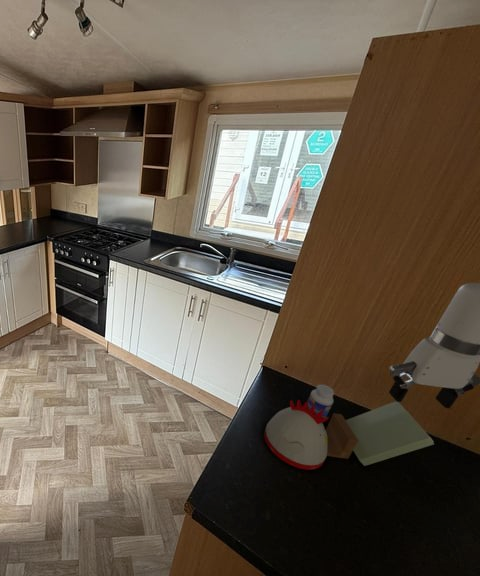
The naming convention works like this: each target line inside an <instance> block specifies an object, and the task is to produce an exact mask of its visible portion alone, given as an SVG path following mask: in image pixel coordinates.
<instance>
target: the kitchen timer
mask: <svg viewBox="0 0 480 576" xmlns="http://www.w3.org/2000/svg"><path fill="white" fill-rule="evenodd" d="M322 413H323V409H322V410H321V411H319V412H318V413H315V404H314V405H313V406H312V407H311V409H308V399H307V400H306V401H305V403H304V404H302V402H301V399H298V400H297V401H296V405H295V403H294V401H293V400H292V399H291V400H290V402H289V407H286V408H283V409H281V410H279V411H278V412H277V413H275V415H274V416H272V417H271V418H270V420H269V421H268V422H267V423H266V427H265V429H264V433H263V436H264V442H265V443H266V445H267V447H268V448H269V449H270V450H271V452H272V453H273V454H274V455H275V456H276V457H277V458H279V459H280V460H281V461H283V462H284V463H286V464H288V465H290V466H293V467H294V468H298V469H300V470H308V471H309V470H317V469H318V468H320V467H322V466H323V464H324V462H325V461H326V459H327V457H328V456H327V442H328V440H327V433H326V431H325V430H326V427H325V426H324V424H323V423H324V422H326V421H328V420H329V418H330V416H326V417H325V418H323V417H322Z"/></svg>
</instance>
